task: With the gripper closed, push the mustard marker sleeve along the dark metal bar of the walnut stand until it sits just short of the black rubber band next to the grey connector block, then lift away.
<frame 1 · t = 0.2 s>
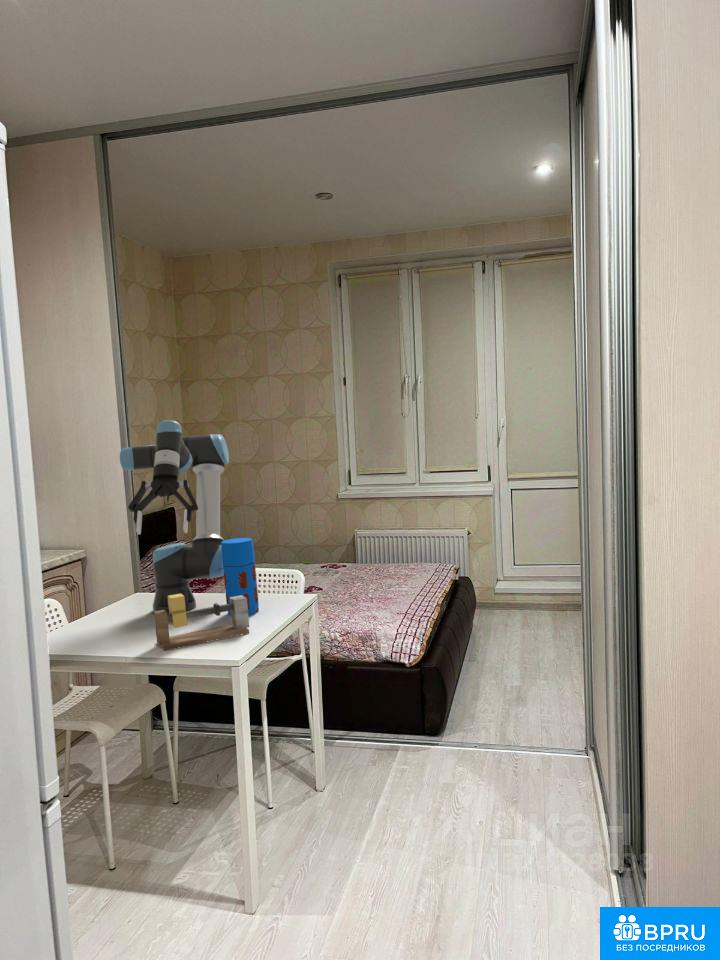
hand: (161, 532, 221), 34 cm above the table, tool tilted 30°, fingers open, 13 cm apart
thermos: (243, 613, 258), on the table
sleeve: (177, 610, 226), point 10 cm above the table, slide at 0.0 cm
rod stand: (203, 638, 229), on the table
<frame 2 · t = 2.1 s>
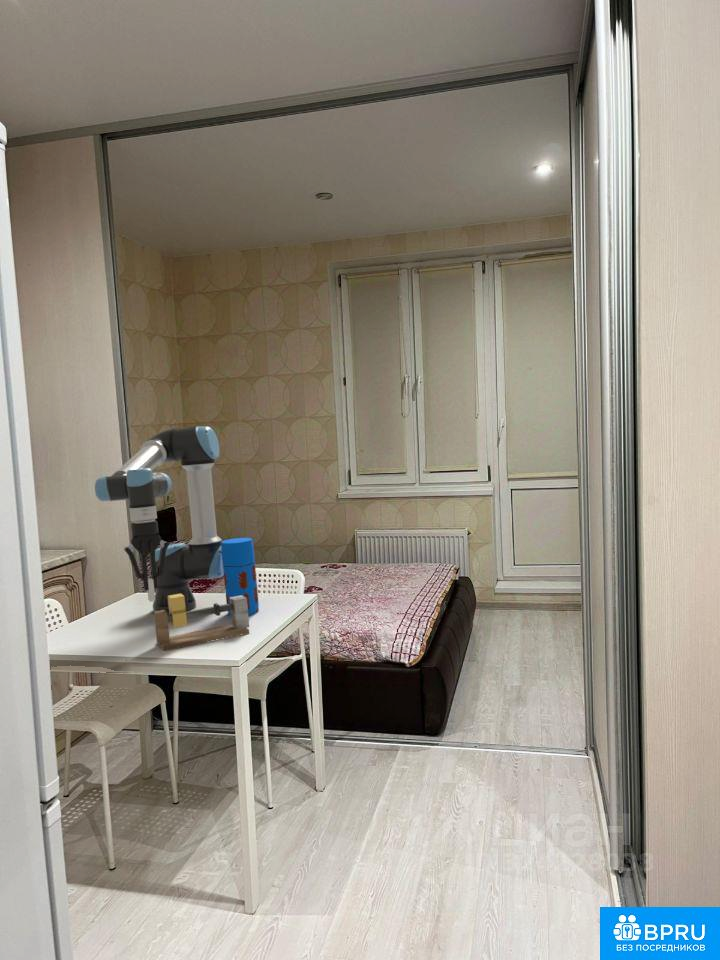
hand: (151, 600, 222), 14 cm above the table, tool pointing down, fingers closed
nothing on the table moved.
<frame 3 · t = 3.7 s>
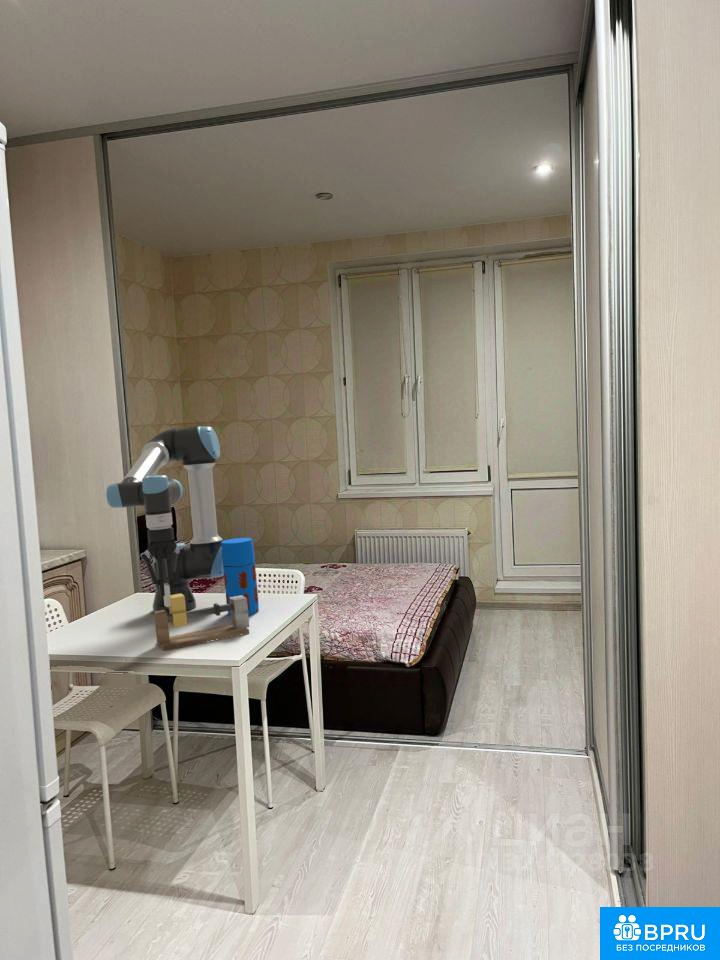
hand: (167, 605, 224), 12 cm above the table, tool pointing down, fingers closed
sleeve: (177, 610, 226), point 10 cm above the table, slide at 0.1 cm, touching gripper
everything else where it was.
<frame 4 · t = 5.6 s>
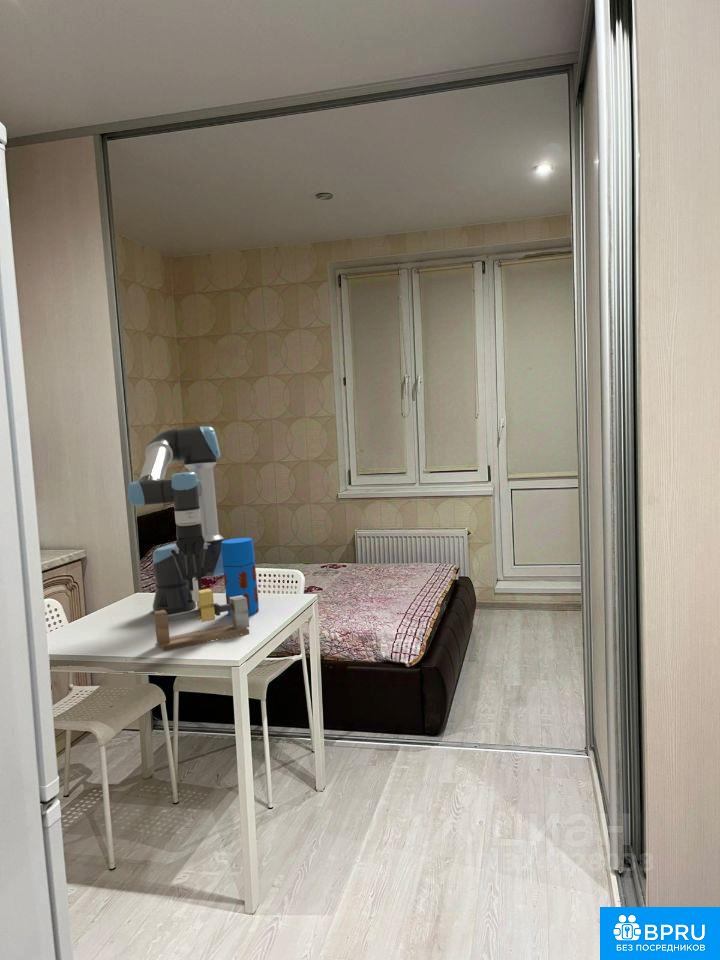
hand: (196, 600, 228), 12 cm above the table, tool pointing down, fingers closed
sleeve: (205, 605, 229), point 10 cm above the table, slide at 8.6 cm, touching gripper
everything else where it was.
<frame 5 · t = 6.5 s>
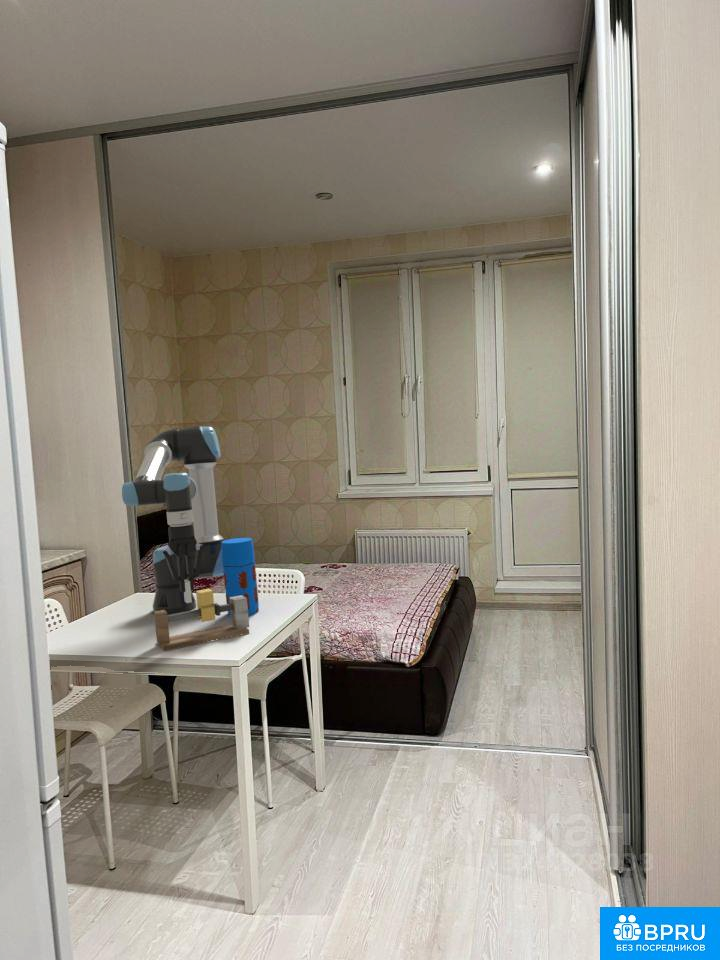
hand: (188, 601, 227), 12 cm above the table, tool pointing down, fingers closed
sleeve: (205, 605, 229), point 10 cm above the table, slide at 8.7 cm
everything else where it was.
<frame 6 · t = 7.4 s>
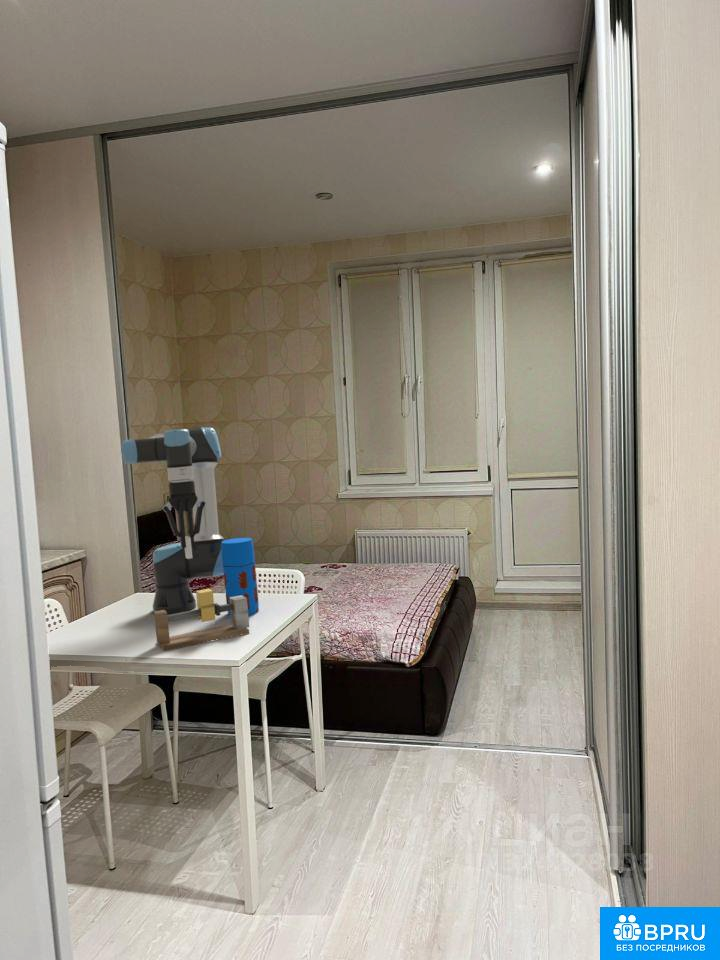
hand: (189, 557, 228), 25 cm above the table, tool pointing down, fingers closed
nothing on the table moved.
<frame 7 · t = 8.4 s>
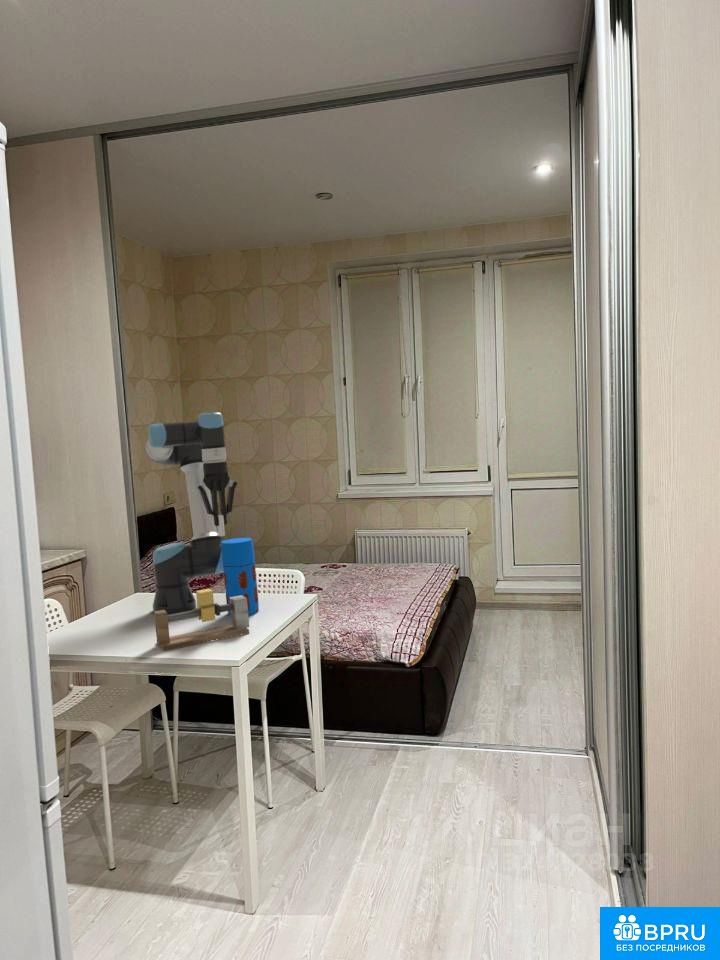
hand: (221, 535, 239), 29 cm above the table, tool pointing down, fingers closed
nothing on the table moved.
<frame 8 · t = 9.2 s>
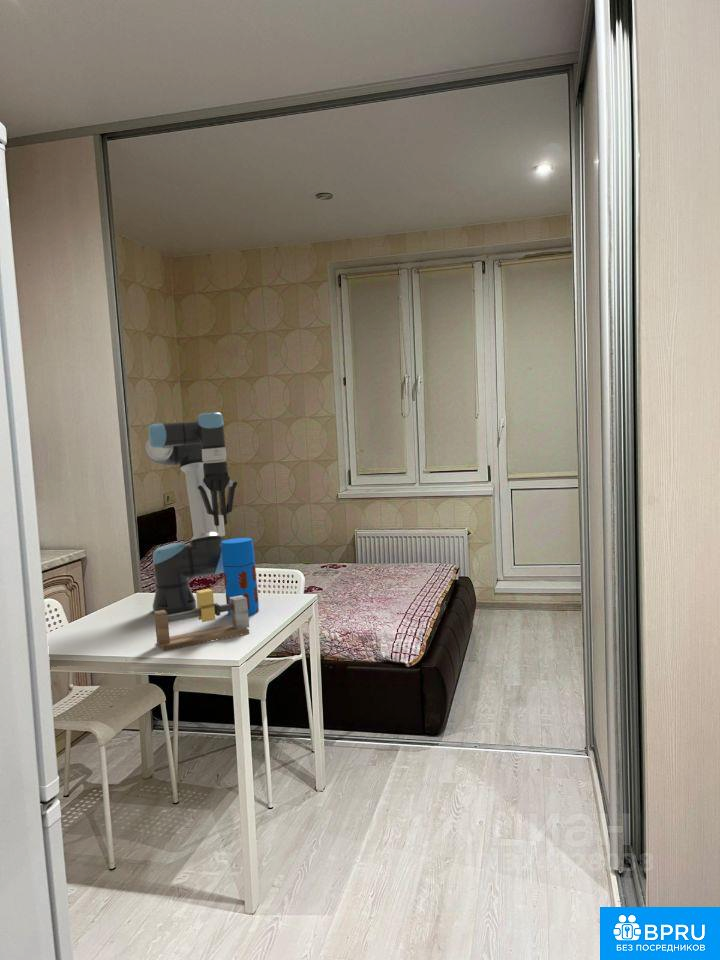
hand: (221, 535, 239), 29 cm above the table, tool pointing down, fingers closed
nothing on the table moved.
at the end: sleeve slide at 8.7 cm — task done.
